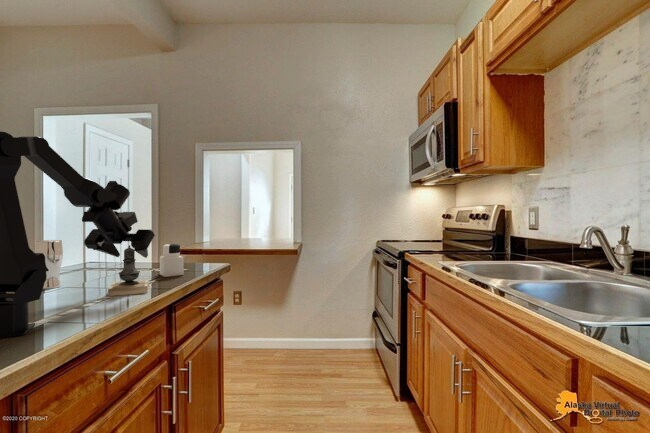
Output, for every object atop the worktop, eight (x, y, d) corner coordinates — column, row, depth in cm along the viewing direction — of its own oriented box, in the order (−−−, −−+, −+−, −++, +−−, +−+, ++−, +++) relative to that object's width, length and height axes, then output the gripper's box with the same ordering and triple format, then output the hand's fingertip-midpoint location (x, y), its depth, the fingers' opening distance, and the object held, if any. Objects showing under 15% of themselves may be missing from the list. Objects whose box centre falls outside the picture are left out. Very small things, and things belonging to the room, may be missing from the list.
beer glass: (30, 288, 106) (30, 241, 106) (56, 284, 112) (56, 239, 112) (40, 290, 103) (41, 242, 103) (66, 286, 109) (67, 240, 109)
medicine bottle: (178, 272, 136) (178, 243, 136) (183, 275, 130) (183, 244, 130) (159, 274, 131) (159, 244, 131) (164, 277, 126) (164, 245, 126)
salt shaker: (124, 286, 99) (124, 246, 99) (114, 284, 102) (114, 245, 102) (144, 283, 104) (144, 244, 104) (133, 281, 107) (133, 243, 107)
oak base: (147, 292, 101) (147, 285, 101) (108, 296, 97) (108, 288, 97) (148, 286, 110) (148, 279, 110) (113, 288, 106) (113, 282, 106)
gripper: (151, 202, 98) (171, 237, 109) (91, 202, 100) (117, 236, 111) (133, 230, 91) (157, 264, 102) (69, 229, 92) (99, 263, 103)
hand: (132, 256), depth 105 cm, fingers open, 9 cm apart
